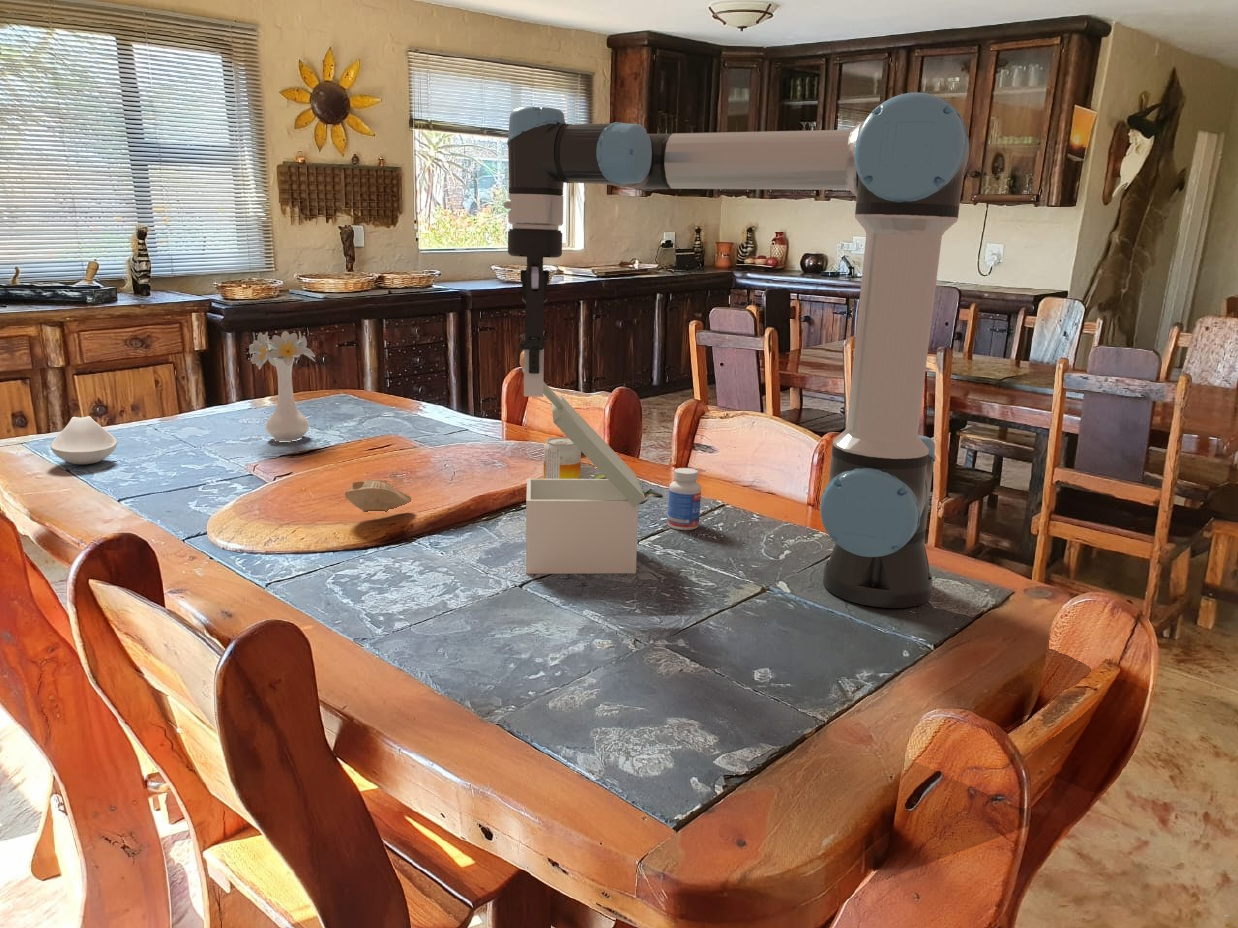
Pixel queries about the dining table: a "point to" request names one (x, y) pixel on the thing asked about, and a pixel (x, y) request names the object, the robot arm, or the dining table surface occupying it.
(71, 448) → the spoon rest
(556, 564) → the tub
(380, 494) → the pottery oil lamp
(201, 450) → the dining table surface
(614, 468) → the lid
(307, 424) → the flower vase
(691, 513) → the pill bottle
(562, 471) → the beer can
